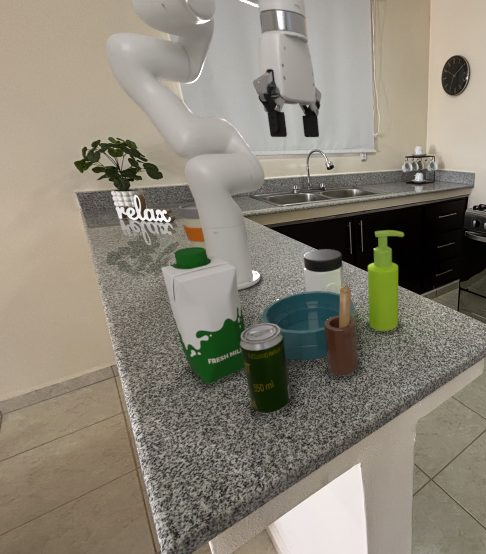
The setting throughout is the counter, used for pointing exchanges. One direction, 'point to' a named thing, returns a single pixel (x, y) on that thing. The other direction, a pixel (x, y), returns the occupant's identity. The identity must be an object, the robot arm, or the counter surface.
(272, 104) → the robot arm
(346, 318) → the stick
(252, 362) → the beer can
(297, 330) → the bowl
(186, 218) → the reusable coffee cup
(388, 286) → the soap dispenser
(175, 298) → the milk carton
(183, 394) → the counter surface
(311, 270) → the jar
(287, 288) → the counter surface
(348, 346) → the utensil cup
